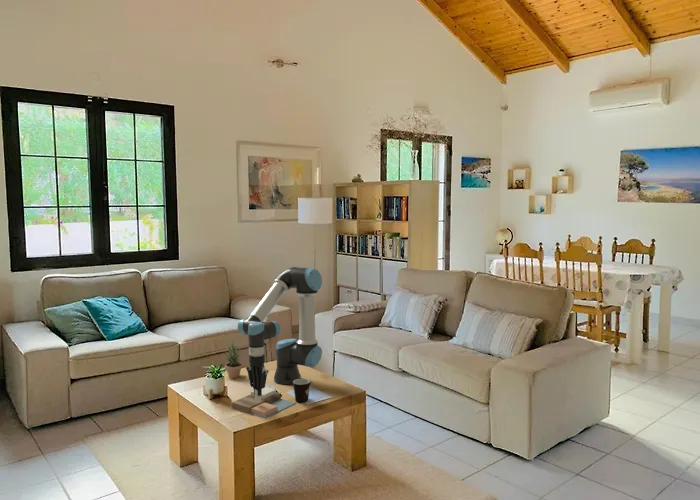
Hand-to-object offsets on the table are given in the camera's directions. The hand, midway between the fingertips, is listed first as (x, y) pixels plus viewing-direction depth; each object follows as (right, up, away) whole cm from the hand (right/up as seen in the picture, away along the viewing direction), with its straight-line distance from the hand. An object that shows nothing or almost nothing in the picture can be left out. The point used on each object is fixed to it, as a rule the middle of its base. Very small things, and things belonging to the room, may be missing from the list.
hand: (258, 401), depth 265 cm
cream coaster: (+1, 0, +13) cm, 13 cm away
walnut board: (-2, -3, +9) cm, 9 cm away
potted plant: (-22, 0, +50) cm, 55 cm away
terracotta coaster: (+3, -4, -2) cm, 6 cm away
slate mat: (+7, -4, +2) cm, 9 cm away
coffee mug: (+22, -3, +13) cm, 25 cm away
